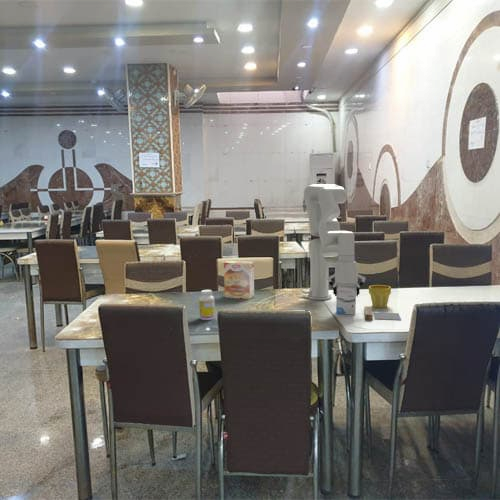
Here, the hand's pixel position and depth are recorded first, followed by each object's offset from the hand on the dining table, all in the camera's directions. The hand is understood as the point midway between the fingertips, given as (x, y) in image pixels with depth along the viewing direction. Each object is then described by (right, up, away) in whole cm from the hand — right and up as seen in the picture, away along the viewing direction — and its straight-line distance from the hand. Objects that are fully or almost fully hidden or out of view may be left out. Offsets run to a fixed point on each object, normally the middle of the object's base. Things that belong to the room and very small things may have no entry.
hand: (346, 295), depth 209 cm
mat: (+17, -9, -6) cm, 20 cm away
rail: (+9, -9, -4) cm, 13 cm away
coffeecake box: (-50, -5, +39) cm, 64 cm away
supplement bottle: (-64, -10, -3) cm, 64 cm away
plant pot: (+19, -7, +13) cm, 24 cm away
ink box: (0, -8, +2) cm, 8 cm away
